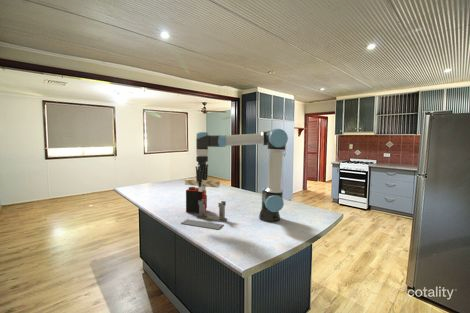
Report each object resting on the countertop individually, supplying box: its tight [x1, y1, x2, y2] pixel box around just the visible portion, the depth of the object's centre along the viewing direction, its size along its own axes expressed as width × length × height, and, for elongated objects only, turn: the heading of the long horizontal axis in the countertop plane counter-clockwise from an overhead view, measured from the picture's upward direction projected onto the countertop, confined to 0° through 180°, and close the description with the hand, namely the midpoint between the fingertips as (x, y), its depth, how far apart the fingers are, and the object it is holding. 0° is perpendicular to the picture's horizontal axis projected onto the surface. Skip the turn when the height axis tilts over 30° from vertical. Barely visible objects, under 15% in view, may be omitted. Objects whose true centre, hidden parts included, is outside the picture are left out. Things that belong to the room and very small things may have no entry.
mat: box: [180, 219, 224, 231], centre depth 153 cm, size 28×8×1 cm, turn 70°
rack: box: [196, 199, 228, 223], centre depth 165 cm, size 21×6×13 cm, turn 70°
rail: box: [184, 178, 220, 188], centre depth 151 cm, size 24×4×4 cm, turn 70°
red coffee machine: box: [185, 186, 208, 214], centre depth 181 cm, size 16×10×20 cm, turn 74°
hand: (202, 190), depth 152 cm, fingers closed on rail, 3 cm apart
